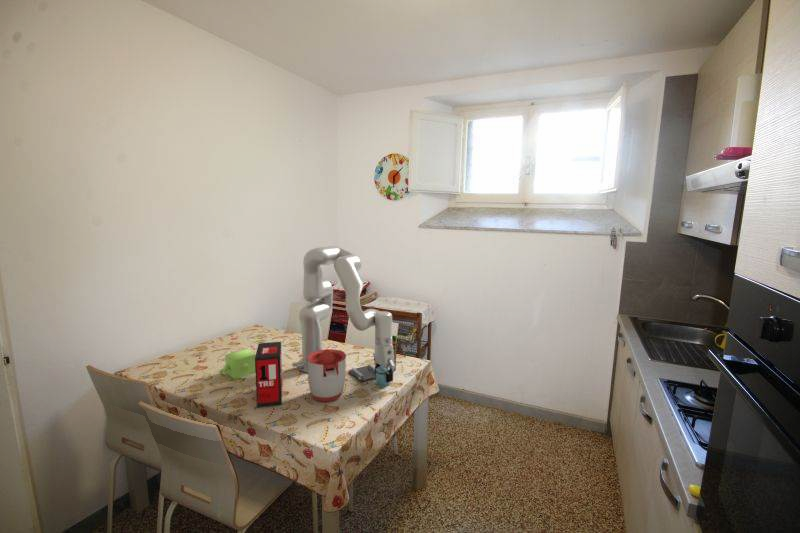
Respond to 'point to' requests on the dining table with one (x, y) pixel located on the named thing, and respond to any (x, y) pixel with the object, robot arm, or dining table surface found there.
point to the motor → (394, 342)
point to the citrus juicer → (326, 374)
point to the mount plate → (364, 373)
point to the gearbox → (239, 363)
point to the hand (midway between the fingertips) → (383, 377)
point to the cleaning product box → (268, 374)
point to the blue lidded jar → (381, 377)
